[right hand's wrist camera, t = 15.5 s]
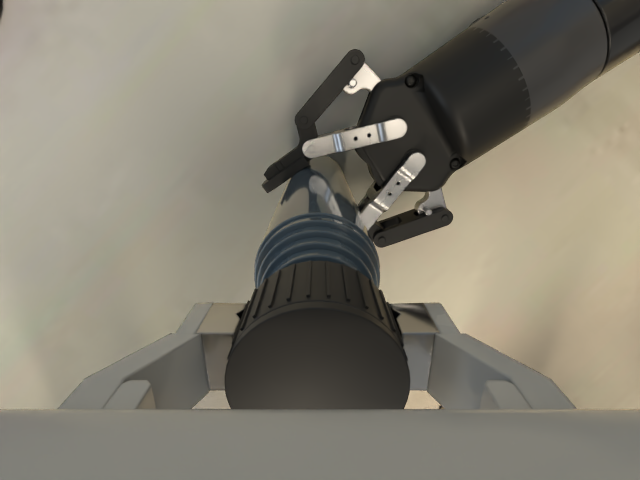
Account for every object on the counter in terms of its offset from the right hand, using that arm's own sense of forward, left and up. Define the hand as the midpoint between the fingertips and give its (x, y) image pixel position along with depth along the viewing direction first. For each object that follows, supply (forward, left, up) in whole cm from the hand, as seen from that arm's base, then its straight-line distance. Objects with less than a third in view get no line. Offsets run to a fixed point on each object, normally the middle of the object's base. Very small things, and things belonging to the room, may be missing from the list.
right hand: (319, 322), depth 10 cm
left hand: (0, +3, -16) cm, 16 cm away
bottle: (0, 0, -23) cm, 23 cm away
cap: (0, 0, +2) cm, 2 cm away
